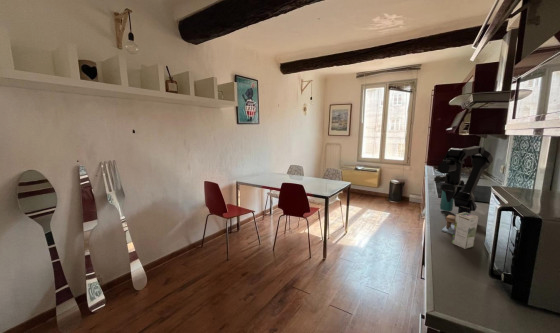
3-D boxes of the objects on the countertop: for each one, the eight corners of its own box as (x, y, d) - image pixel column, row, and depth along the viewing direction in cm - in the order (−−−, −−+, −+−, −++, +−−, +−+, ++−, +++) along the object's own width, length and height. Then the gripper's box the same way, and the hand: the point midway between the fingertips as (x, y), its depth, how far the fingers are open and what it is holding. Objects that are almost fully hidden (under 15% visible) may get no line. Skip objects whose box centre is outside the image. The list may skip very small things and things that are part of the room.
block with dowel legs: (466, 230, 116) (468, 219, 115) (464, 233, 113) (465, 222, 112) (447, 225, 122) (449, 214, 121) (444, 228, 119) (446, 217, 118)
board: (448, 225, 124) (448, 223, 124) (469, 230, 117) (469, 229, 117) (441, 230, 117) (441, 229, 117) (463, 237, 110) (463, 235, 110)
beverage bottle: (454, 213, 140) (458, 181, 137) (442, 213, 141) (446, 181, 138) (448, 210, 146) (452, 179, 143) (437, 209, 148) (441, 178, 144)
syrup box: (459, 241, 107) (463, 211, 104) (474, 247, 102) (478, 216, 99) (451, 243, 105) (455, 213, 102) (465, 249, 100) (470, 217, 97)
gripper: (442, 167, 134) (439, 193, 137) (431, 171, 122) (427, 200, 125) (466, 170, 126) (462, 198, 129) (456, 175, 114) (452, 205, 117)
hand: (450, 200), depth 125 cm, fingers open, 9 cm apart
